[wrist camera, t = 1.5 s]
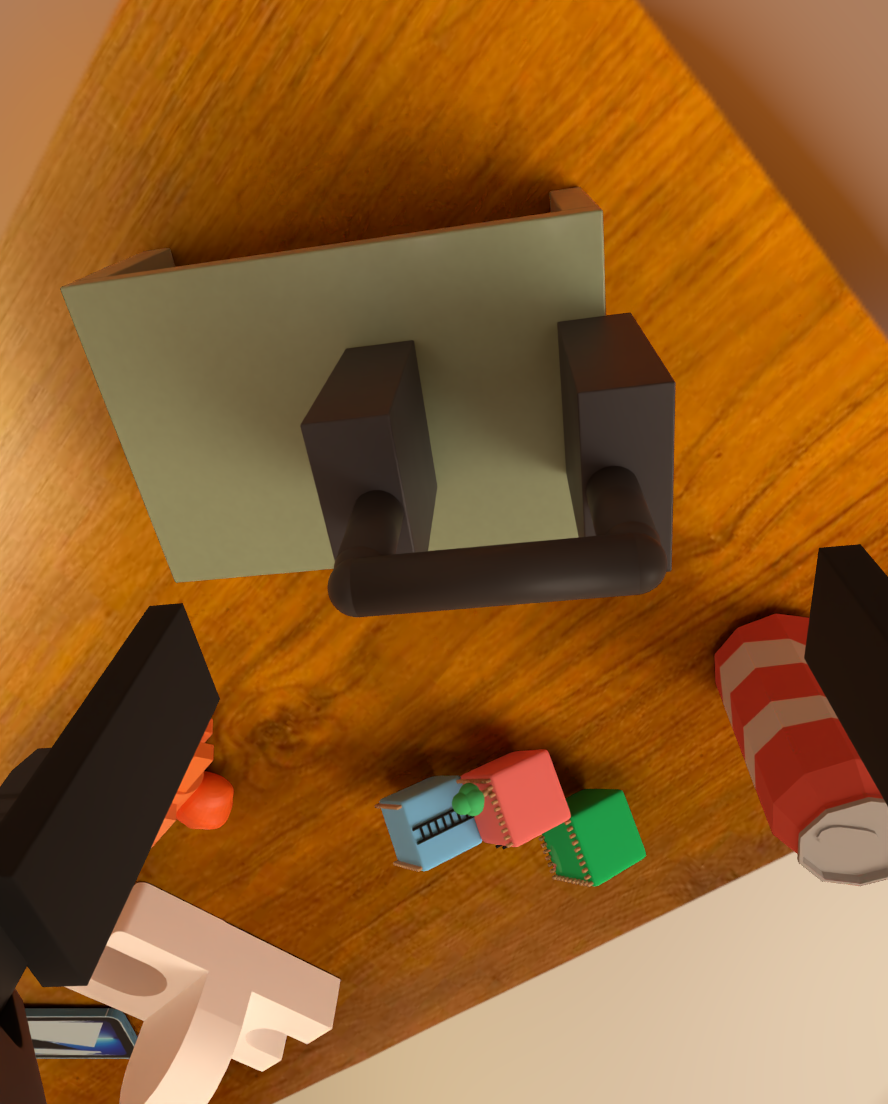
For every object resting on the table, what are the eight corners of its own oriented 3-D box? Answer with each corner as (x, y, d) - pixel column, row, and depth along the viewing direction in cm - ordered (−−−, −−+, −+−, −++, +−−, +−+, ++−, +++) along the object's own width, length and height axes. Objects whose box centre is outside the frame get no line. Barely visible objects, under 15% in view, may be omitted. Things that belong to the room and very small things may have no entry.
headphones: (344, 348, 25) (252, 503, 16) (630, 312, 24) (723, 454, 14) (375, 493, 28) (313, 701, 18) (632, 467, 27) (710, 674, 17)
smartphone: (142, 1059, 66) (-18, 1058, 67) (146, 1047, 67) (-12, 1047, 68) (118, 1015, 62) (-52, 1016, 63) (122, 1003, 63) (-45, 1004, 64)
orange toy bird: (154, 767, 39) (67, 874, 44) (281, 791, 43) (187, 887, 48) (161, 690, 42) (80, 797, 48) (277, 719, 46) (191, 815, 52)
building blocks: (530, 731, 50) (372, 801, 44) (602, 723, 43) (425, 805, 37) (571, 846, 49) (415, 933, 43) (653, 857, 42) (478, 962, 36)
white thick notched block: (340, 978, 59) (311, 1146, 49) (273, 1022, 63) (235, 1184, 54) (140, 879, 54) (64, 1046, 44) (82, 934, 58) (1, 1097, 48)
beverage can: (728, 600, 38) (814, 783, 28) (851, 615, 38) (982, 804, 28) (695, 688, 41) (761, 882, 31) (808, 702, 41) (911, 900, 31)
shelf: (142, 251, 31) (58, 287, 25) (580, 186, 29) (603, 209, 23) (226, 505, 37) (174, 583, 31) (592, 468, 35) (612, 544, 29)
